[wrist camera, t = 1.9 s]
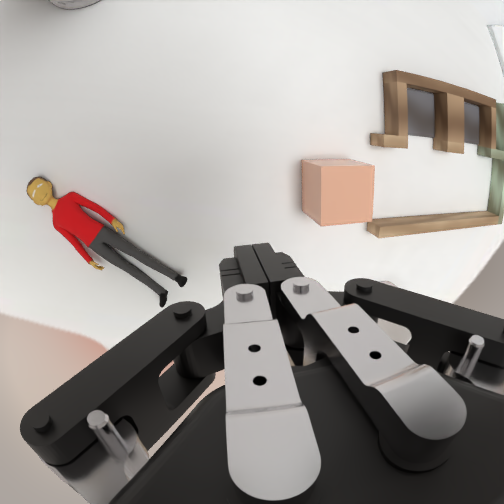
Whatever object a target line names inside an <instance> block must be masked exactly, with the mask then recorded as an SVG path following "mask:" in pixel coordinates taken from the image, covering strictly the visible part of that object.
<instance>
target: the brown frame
mask: <svg viewBox="0 0 504 504" xmlns="http://www.w3.org/2000/svg"><path fill="white" fill-rule="evenodd" d="M383 87H384V113H385V134H374V133H370V145H375V146H381V147H393V148H408V135H414V136H423V137H431V138H433V149H435V150H440V151H445V152H452V153H461V154H464V142H466V143H472V144H477V145H478V155H482V156H486V157H490V158H493V161H492V174H491V185H490V194H489V202H488V209H487V211H478V212H463V213H448V214H434V215H420V216H407V217H394V218H382V219H372V222H368V223H367V231H369V232H370V233H372V234H373V235H375V236H376V237H378V238H385V237H394V236H402V235H411V234H420V233H428V232H437V231H445V230H454V229H462V228H471V227H479V226H488V225H496V224H502V220H503V213H504V104H501V103H496V100H495V99H493V98H490V97H487V96H485V95H482V94H479V93H477V92H474V91H471V90H468V89H465V88H462V87H459V86H456V85H452V84H449V83H446V82H442V81H439V80H435V79H432V78H428V77H424V76H420V75H416V74H412V73H407V72H403V71H398V70H394V71H389V72H384V73H383ZM407 88H411V89H407ZM412 89H416V90H412ZM417 90H421V91H425V92H421V91H417ZM426 92H429V93H426ZM430 93H433V94H430ZM465 102H467V103H465ZM468 103H471V104H468ZM472 104H474V105H472ZM475 105H477V106H475Z"/></svg>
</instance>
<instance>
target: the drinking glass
mask: <svg viewBox="0 0 504 504" xmlns="http://www.w3.org/2000/svg"><path fill="white" fill-rule="evenodd" d="M381 283H384V284H387V285H391V286H394V287H397V286H395V285H394V284H392V283H391V282H389V281H381ZM377 324H378V325H379V326H380V328H381V329H382V330H383V331H384V332H385V333H386V334H387V335H388V336H389V337H390V338H391V339H392V340H394V341H396V342H399V343H402V344H405V345H409V344H410V341H411V333H410V331H409V330H408V329H407V328H406V327H403V326H400V325H397V324H395V323H392V322H389V321H386V320H383V319H380V318H378V323H377Z"/></svg>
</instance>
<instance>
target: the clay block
mask: <svg viewBox="0 0 504 504" xmlns="http://www.w3.org/2000/svg"><path fill="white" fill-rule="evenodd" d="M301 161H302V211H303V212H304V213H305V214H307V215H308V216H309V217H310V218H311V219H313V220H314V221H315V222H316V223H317V224H319V225H320V226H330V225H341V224H351V223H362V222H372V214H373V197H374V171H375V166H374V165H370V164H366V163H363V162H359V161H355V160H351V159H314V160H301Z"/></svg>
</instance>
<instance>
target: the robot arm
mask: <svg viewBox="0 0 504 504" xmlns="http://www.w3.org/2000/svg"><path fill="white" fill-rule="evenodd" d="M49 1H51V2H52V3H53V4H54V5H56V6H58V7H60V8H65V9H77V8H81V7H86V6H88V5H91V4H94V3H96V2H98V1H100V0H49ZM219 267H220V277H221V286H222V295H223V301H222V302H221V303H220V304H219V305H217V306H215V307H213V308H210V309H207V310H205V309H204V307H203V306H202V305H201V304H199V303H196V302H190V301H185V302H178V303H175V304H172V305H170V306H168V307H167V308H165V309H164V310H163V311H161V312H160V313H159V314H157V315H156V316H155V317H153V318H152V319H150V320H149V321H148V322H146V323H145V324H144V325H142V326H141V327H140V328H138V329H137V330H136V331H134V332H133V333H131V334H130V335H129V336H127V337H126V338H125V339H123V340H122V341H121V342H119V343H118V344H117V345H115V346H114V347H113V348H111V349H110V350H108V351H107V352H106V353H104V354H103V355H102V356H100V357H99V358H98V359H96V360H95V361H94V362H92V363H91V364H90V365H88V366H87V367H86V368H84V369H83V370H82V371H80V372H79V373H78V374H76V375H75V376H74V377H72V378H71V379H70V380H68V381H67V382H65V383H64V384H63V385H61V386H60V387H59V388H57V389H56V390H55V391H54V392H52V393H51V394H49V395H48V396H47V397H45V398H44V399H43V400H41V401H40V402H39V403H37V404H36V405H35V406H33V407H32V408H31V409H30V410H28V411H27V413H26V414H25V415H24V416H23V418H22V420H21V424H20V432H21V435H22V437H23V439H24V440H25V441H26V442H27V443H28V444H29V446H30V447H31V448H32V449H33V450H34V451H35V452H36V453H37V454H38V456H39V457H40V459H41V460H42V461H43V462H44V463H45V464H46V465H47V466H48V467H49V468H50V469H51V470H52V471H53V472H54V473H55V474H56V475H57V476H58V477H59V478H60V479H61V480H62V481H64V482H66V483H67V484H68V485H69V486H71V487H72V488H73V489H74V490H75V491H76V492H78V493H79V494H81V496H82V497H83V498H84V499H85V500H86V501H88V502H89V503H90V504H504V319H501V318H497V317H494V316H491V315H487V314H484V313H481V312H477V311H474V310H471V309H468V308H464V307H461V306H458V305H454V304H451V303H448V302H444V301H441V300H438V299H434V298H431V297H428V296H424V295H421V294H418V293H414V292H411V291H408V290H404V289H401V288H398V287H394V286H391V285H387V284H384V283H381V282H377V281H374V280H370V279H364V278H358V279H352V280H350V281H348V282H347V283H346V284H345V288H344V292H331V291H327V290H326V289H325V288H324V287H323V286H322V285H321V284H320V283H319V282H318V281H316V280H314V279H312V278H307V277H304V275H303V274H302V273H301V271H300V270H299V268H298V267H297V266H296V264H295V263H294V261H293V260H292V259H291V257H290V256H288V255H286V254H285V253H283V252H278V253H275V252H274V250H273V249H272V247H271V246H270V244H269V243H261V244H252V246H251V245H243V246H234V258H226V259H223V260H222V261H221V263H220V264H219ZM378 318H380V319H383V320H386V321H389V322H392V323H395V324H397V325H400V326H403V327H406V328H407V329H408V330H409V331H410V333H411V341H410V344H409V345H405V344H402V343H399V342H396V341H394V340H392V339H391V338H390V337H389V336H388V335H387V334H386V333H385V332H384V331H383V330H382V329H381V328H380V326H379V325H378V324H377V323H378ZM448 351H450V352H448ZM172 360H173V361H174V364H173V365H172V366H171V367H170V368H169V369H168V370H167V371H166V372H164V373H163V374H162V375H161V376H160V377H159V375H160V373H161V371H162V370H163V369H164V368H165V367H166V366H167V365H168V364H169V363H170V362H172ZM223 369H225V385H223V386H221V387H219V388H217V389H216V390H214V391H212V392H211V393H210V394H208V395H207V396H205V397H204V398H203V399H202V400H201V401H200V402H199V403H198V404H197V405H196V407H195V408H194V409H193V410H192V411H191V413H190V414H189V415H188V416H187V417H186V418H185V420H184V421H183V422H182V423H181V424H180V425H179V426H178V428H177V429H176V430H175V431H174V432H173V433H172V435H171V436H170V437H169V438H168V439H167V440H166V441H165V443H164V444H163V445H162V446H161V447H160V448H159V449H158V450H157V451H156V453H155V454H154V455H153V456H152V457H151V458H150V459H149V454H148V450H149V449H150V448H151V447H152V446H153V445H154V444H155V443H156V442H157V441H158V440H159V439H160V438H161V437H162V436H163V435H164V433H166V432H167V431H168V430H169V428H170V427H171V426H172V425H173V424H174V423H175V422H176V421H177V420H178V419H179V418H180V417H181V416H182V415H183V414H184V413H185V412H186V410H187V409H188V408H189V407H190V406H191V405H192V404H193V403H194V402H195V401H196V400H197V399H198V398H199V396H200V395H201V394H202V393H203V392H204V391H205V390H206V389H207V388H208V387H209V385H210V384H211V383H212V382H213V381H214V379H215V372H218V371H220V370H223Z"/></svg>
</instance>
